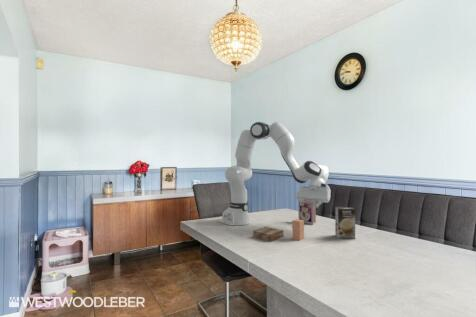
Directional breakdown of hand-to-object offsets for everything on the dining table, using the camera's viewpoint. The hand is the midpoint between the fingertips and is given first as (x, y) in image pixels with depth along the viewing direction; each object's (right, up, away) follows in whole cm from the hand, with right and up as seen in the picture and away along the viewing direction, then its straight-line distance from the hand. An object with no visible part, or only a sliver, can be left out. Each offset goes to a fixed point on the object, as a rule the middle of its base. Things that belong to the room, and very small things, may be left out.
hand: (308, 206), depth 153 cm
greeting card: (+7, -16, +27) cm, 32 cm away
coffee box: (+19, -16, -6) cm, 26 cm away
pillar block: (-8, -16, -9) cm, 20 cm away
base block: (-24, -17, -6) cm, 30 cm away
